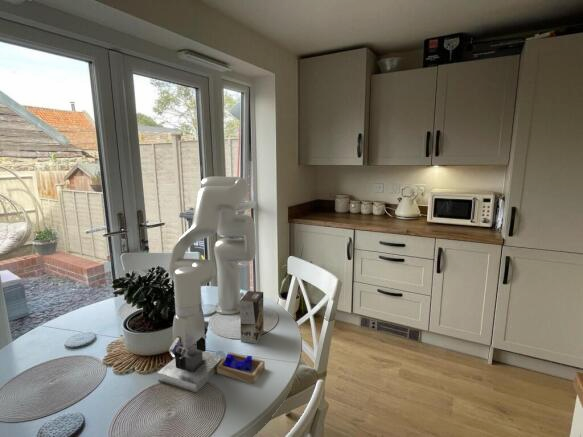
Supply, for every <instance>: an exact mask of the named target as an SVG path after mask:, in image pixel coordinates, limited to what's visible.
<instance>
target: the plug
mask: <svg viewBox="0 0 583 437" xmlns="http://www.w3.org/2000/svg"><path fill="white" fill-rule="evenodd" d="M184 357H185V362H186V369H185V370H186V371H189V372H193V373H194V372H195V371H196V370H197V369H198V368H199V367H200V366H201V365H202V364H203V358H202V350H198V349H197V347H196V343H194V344H193V345H192V346H191V347H189V348H188V349H187V350H186V351H185V354H184Z"/></svg>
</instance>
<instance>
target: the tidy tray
mask: <svg viewBox="0 0 583 437" xmlns="http://www.w3.org/2000/svg"><path fill="white" fill-rule="evenodd" d="M228 354H232V356H233V358H234V359H235V360H236V361H238V362H244V361H245V360H246V358H247V356H246V355H241V354H239V353H234V352H228ZM225 363H226V356H225V357H224V359H223V360H222V361H221V362H220V363H219V364H218V365H217V371H216V373H217V374H219V375H222V376H225V377H230V378H233V379H236V380H238V381H239V380H240V381H243V382H247V383H250V384H255V382H256V381H257V380H258V378H259V377H260V375H261V374H262V373H263V372H264V370H265V365H266V364H265V360H261V359H258V358H253V357H252V368H255V370H254V371H253V372H252V373H250V372H246V371H245V370H237V369H233V368H229V367H226V366H224V365H225Z"/></svg>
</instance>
